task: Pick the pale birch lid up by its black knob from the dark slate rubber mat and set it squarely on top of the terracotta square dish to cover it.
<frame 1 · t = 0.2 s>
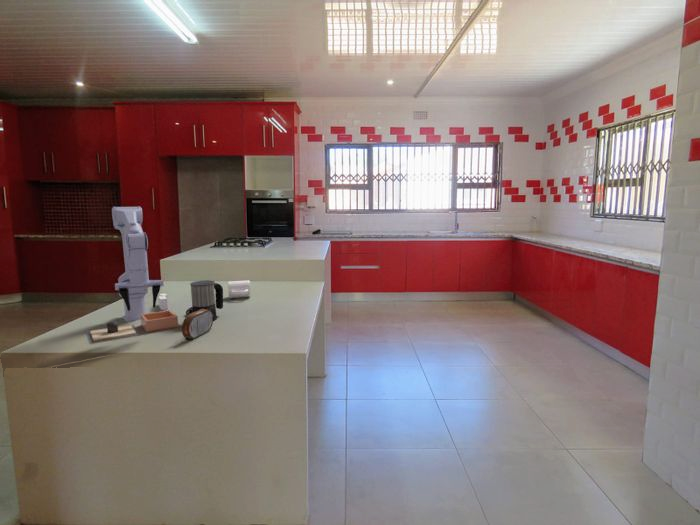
hand: (141, 308, 141), 10 cm above the countertop, fingers open, 7 cm apart
slate mat: (113, 335, 144), on the countertop
napkin holder: (165, 308, 183), on the countertop
tin: (199, 335, 144), on the countertop
milk frother: (200, 318, 165), on the countertop
birch lid: (113, 333, 144), resting on slate mat
terracotta dish: (159, 327, 153), on the countertop
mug: (239, 298, 198), on the countertop
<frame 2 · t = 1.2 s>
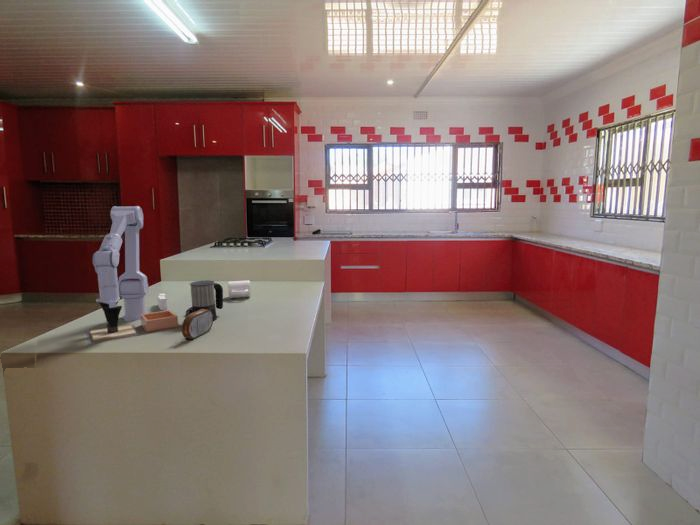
hand: (112, 324, 143), 4 cm above the countertop, fingers open, 7 cm apart
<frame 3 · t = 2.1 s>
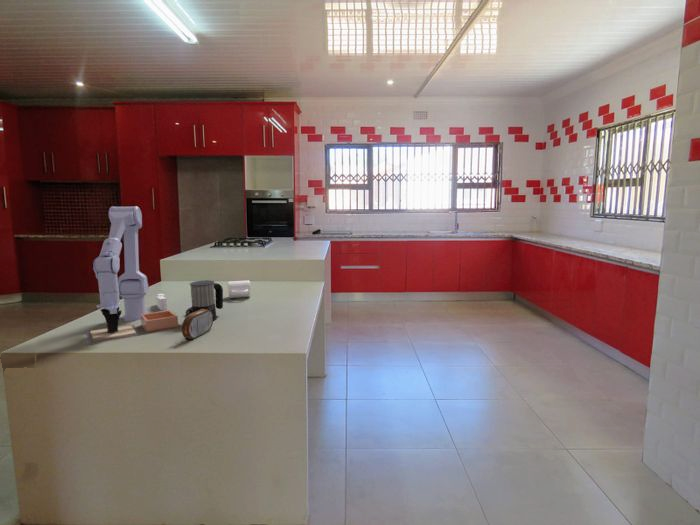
hand: (112, 329, 144), 2 cm above the countertop, fingers closed on birch lid, 3 cm apart
birch lid: (113, 333, 144), resting on slate mat, touching gripper
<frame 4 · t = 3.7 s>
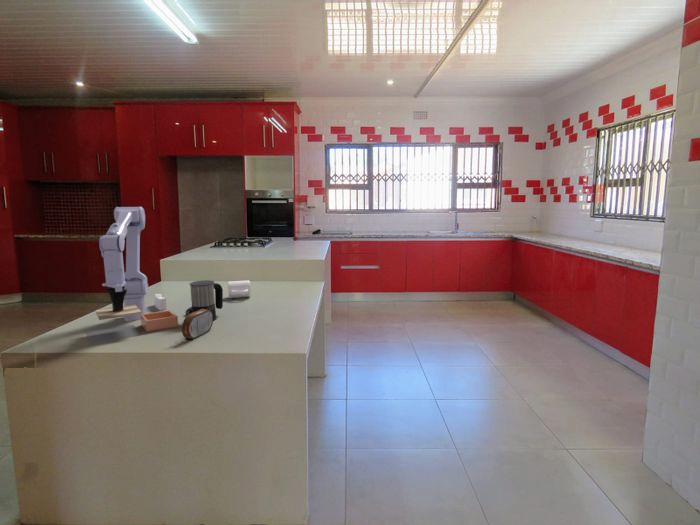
hand: (118, 308, 144), 9 cm above the countertop, fingers closed on birch lid, 3 cm apart
birch lid: (118, 312, 144), point 8 cm above the countertop, touching gripper
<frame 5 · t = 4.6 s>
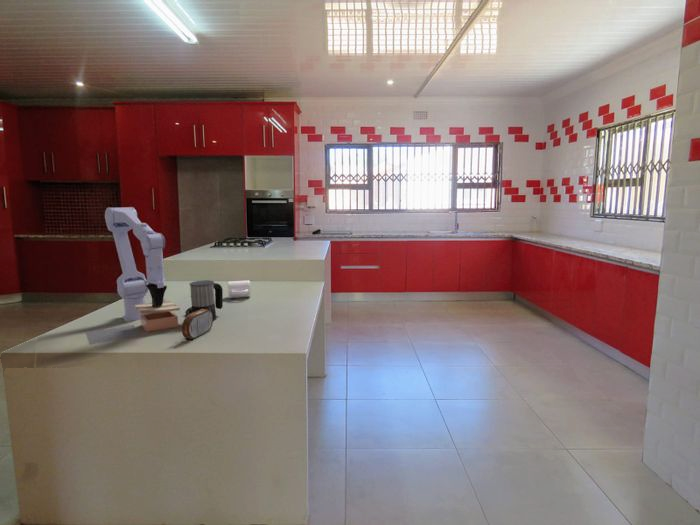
hand: (157, 304, 152), 9 cm above the countertop, fingers closed on birch lid, 3 cm apart
birch lid: (157, 308, 152), point 7 cm above the countertop, touching gripper
when the fingers open (7 cm above the countertop, at t = 5.2 s): birch lid drops 1 cm, resting on terracotta dish.
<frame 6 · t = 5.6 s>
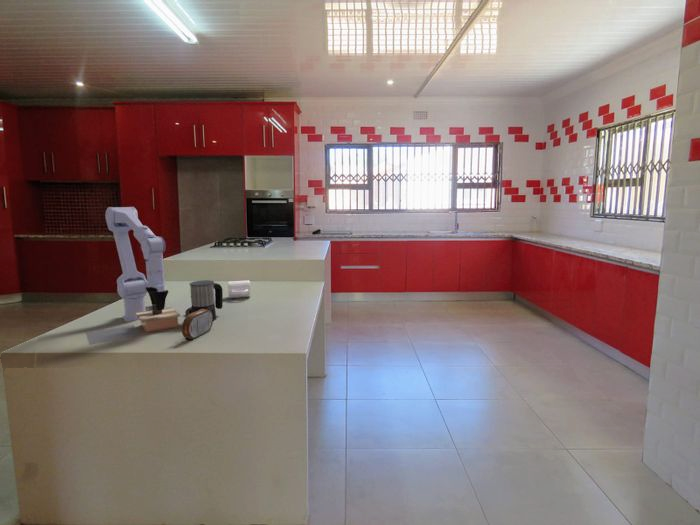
hand: (158, 307, 152), 7 cm above the countertop, fingers open, 7 cm apart
birch lid: (157, 315, 152), point 4 cm above the countertop, touching terracotta dish
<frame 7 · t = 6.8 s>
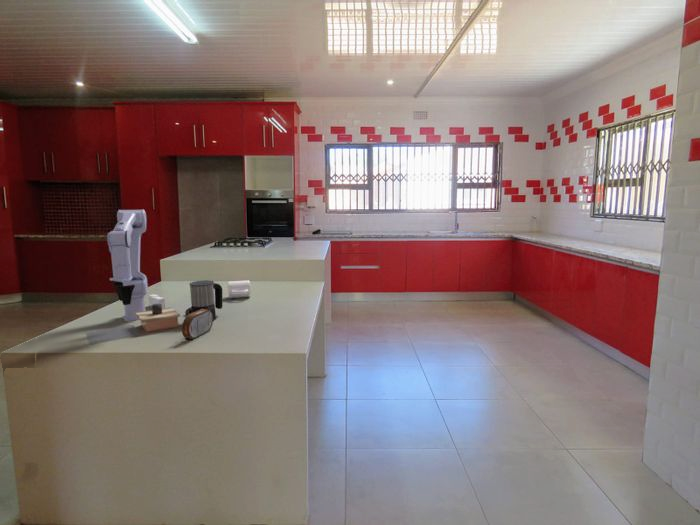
hand: (124, 302, 148), 10 cm above the countertop, fingers open, 7 cm apart
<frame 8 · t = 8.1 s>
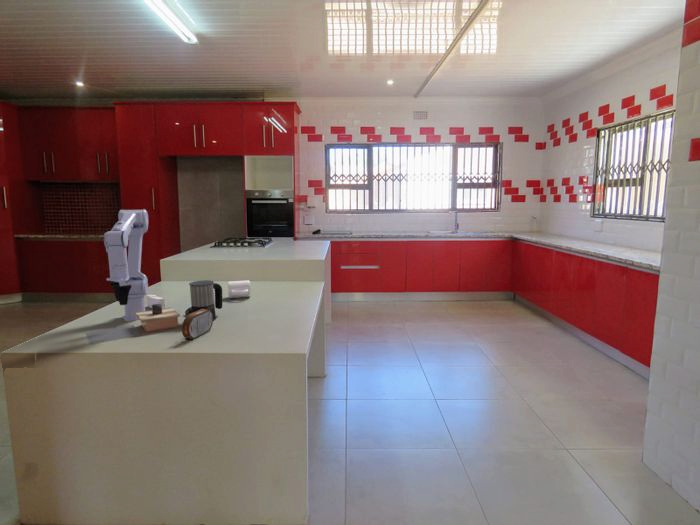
hand: (121, 302, 148), 10 cm above the countertop, fingers open, 7 cm apart
at the end: birch lid 0.4 cm off-centre on the terracotta dish, point 4.5 cm above the terracotta dish's base; birch lid tilted 0°; the gripper is holding nothing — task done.
